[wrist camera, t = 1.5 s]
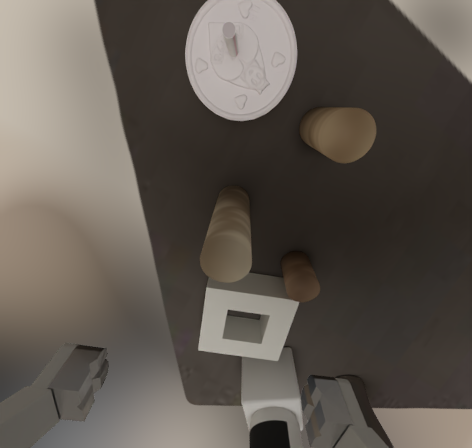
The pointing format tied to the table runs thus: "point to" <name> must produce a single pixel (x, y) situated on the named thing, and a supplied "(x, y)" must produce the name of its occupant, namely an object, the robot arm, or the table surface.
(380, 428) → the beer glass
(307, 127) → the oak pin
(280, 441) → the container
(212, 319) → the socket block
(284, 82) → the smoothie
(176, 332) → the table surface
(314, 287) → the walnut pin
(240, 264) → the maple pin
